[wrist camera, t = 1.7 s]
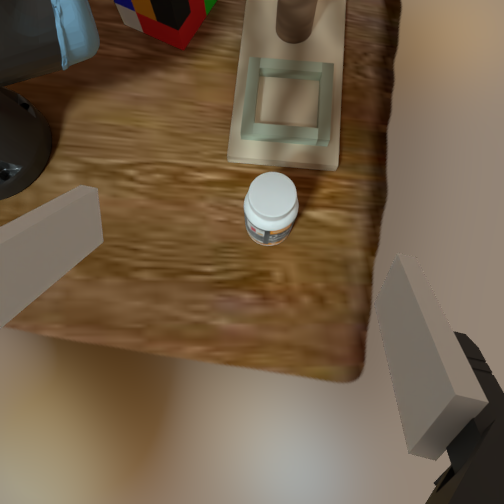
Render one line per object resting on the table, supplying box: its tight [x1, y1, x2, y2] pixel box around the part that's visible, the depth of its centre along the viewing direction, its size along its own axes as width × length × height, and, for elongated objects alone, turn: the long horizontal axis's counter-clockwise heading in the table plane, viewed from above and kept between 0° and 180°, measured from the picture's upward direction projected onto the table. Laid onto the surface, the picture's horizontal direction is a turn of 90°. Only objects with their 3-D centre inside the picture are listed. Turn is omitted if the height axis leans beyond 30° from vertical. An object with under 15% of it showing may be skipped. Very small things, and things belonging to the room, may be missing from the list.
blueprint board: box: [227, 0, 346, 171], centre depth 39 cm, size 14×26×12 cm, turn 174°
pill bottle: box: [244, 172, 299, 246], centre depth 36 cm, size 6×6×10 cm
